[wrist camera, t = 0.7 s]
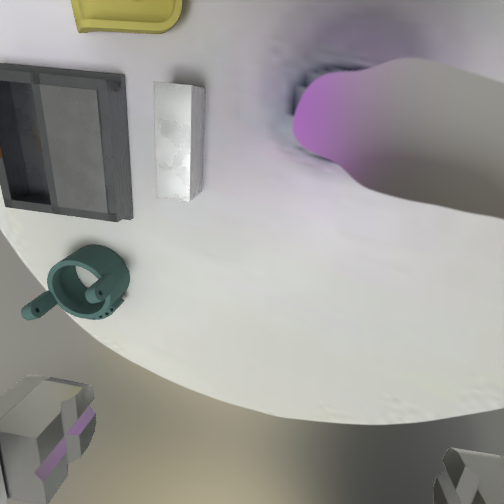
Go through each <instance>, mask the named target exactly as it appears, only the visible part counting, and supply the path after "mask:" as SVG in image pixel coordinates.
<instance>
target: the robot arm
mask: <svg viewBox="0 0 504 504" xmlns="http://www.w3.org/2000/svg"><path fill="white" fill-rule="evenodd" d="M93 400H94V390H93V387H92V386H90V385H88V384H83V383H78V382H73V381H68V380H63V379H57V378H53V377H46V376H41V375H36V374H30V375H27V376H25V377H23V378H22V379H21V380H19V381H18V382H17V383H16V384H14V385H13V386H12V387H11V388H10V389H8V391H6V392H5V393H4V394H2V395H1V396H0V504H5V503H7V501H8V499H11V500H17V501H22V502H28V503H33V504H48V503H49V502H50V500H51V499H52V498H53V496H54V495H55V493H56V492H57V491H58V489H59V488H60V486H61V485H62V483H63V482H64V481H65V479H66V478H67V476H68V465H69V464H70V463H72V462H74V461H75V460H77V459H79V458H80V457H81V456H82V455H83V453H84V452H85V451H86V449H87V448H88V446H89V444H90V442H91V439H92V437H93V434H94V432H95V426H96V413H95V412H94V411H93V409H92V408H91V407H90V403H91V402H92V401H93ZM442 461H443V463H444V465H445V468H446V470H445V471H444V472H442V473H441V474H439V475H437V477H436V480H435V484H434V487H433V503H434V504H504V456H498V455H493V454H487V453H481V452H474V451H468V450H462V449H456V448H449V449H448V450H447V451H446V452H445V455H444V457H443V460H442Z"/></svg>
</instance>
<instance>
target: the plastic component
mask: <svg viewBox="0 0 504 504" xmlns="http://www.w3.org/2000/svg"><path fill="white" fill-rule="evenodd" d="M71 3H72V8H73V13H74V17H75V22H76V26H77V29H78V32H79V33H88V32H89V31H108V32H127V33H147V34H161V33H164V32H166V31H168V30H169V29H170V28H171V27H172V26H173V25H174V24H175V23H176V22H177V20H178V18H179V16H180V13H181V10H182V0H71Z"/></svg>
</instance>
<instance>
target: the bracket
mask: <svg viewBox="0 0 504 504" xmlns="http://www.w3.org/2000/svg"><path fill="white" fill-rule="evenodd" d="M75 266H79V267H82V268H85V269H87V270H88V271H90V272H91V273H93V274H94V275H95V276H96V277H97V278H98V279H99V280H98V281H96V282H95V283H94V284H93V285H92V286H90V287H89V288H86V287H85V286H84V285H83V284H82V282H81V281H80V279H79V278H78V276H77V273H76V269H75ZM129 282H130V275H129V271H128V269H127V267H126V265H125V263H124V261H123V259H122V258H121V257H120V256H119V255H118V254H117V253H116V252H114V251H113V250H111V249H109V248H107V247H105V246H101V245H88V246H84V247H83V248H81V249H79V250H78V251H76V252H75V253H73V254H71V255H70V256H68V257H67V258H65V259H63V260H62V261H60V262H59V263H57V264H56V265H54V266H53V267H52V268H51V270H50V271H49V274H48V278H47V284H48V289H49V291H46V292H44V293H43V294H41V295H40V296H38V297H37V298H36V299H34V300H33V301H32V302H30V303H28V304H27V305H26V306H24V307H23V308H22V310H21V314H22V316H23V318H24V319H26V320H33V319H37V318H40V317H41V316H43V315H44V314H45V313H46V312H48V311H49V310H50V309H51V308H53V307H54V306H55V305H57V304H58V305H59V306H60V307H61V308H62V309H63V310H65V311H66V312H68V313H70V314H71V315H74V316H76V317H80V318H86V319H92V320H99V319H104V318H106V317H108V316H110V315H111V314H112V313H113V312H114V311H115V310H116V309H117V308H118V307H119V306H120V305H121V304H122V303H123V302H124V300H123V299H122V298H121V297H120V296H121V295H122V294H123V293H124V292H125V291H126V290H127V288H128V286H129Z"/></svg>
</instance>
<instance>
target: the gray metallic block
mask: <svg viewBox="0 0 504 504" xmlns="http://www.w3.org/2000/svg"><path fill="white" fill-rule="evenodd" d="M154 111H155V151H156V190H157V197H158V198H165V199H173V200H181V201H189V202H190V201H191V200H192V199H193V198H195V197H196V196H197V195H198V194H199V193H201V192H202V176H203V144H204V112H205V88H201V87H197V86H193V85H185V84H175V83H165V82H155V81H154Z"/></svg>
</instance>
